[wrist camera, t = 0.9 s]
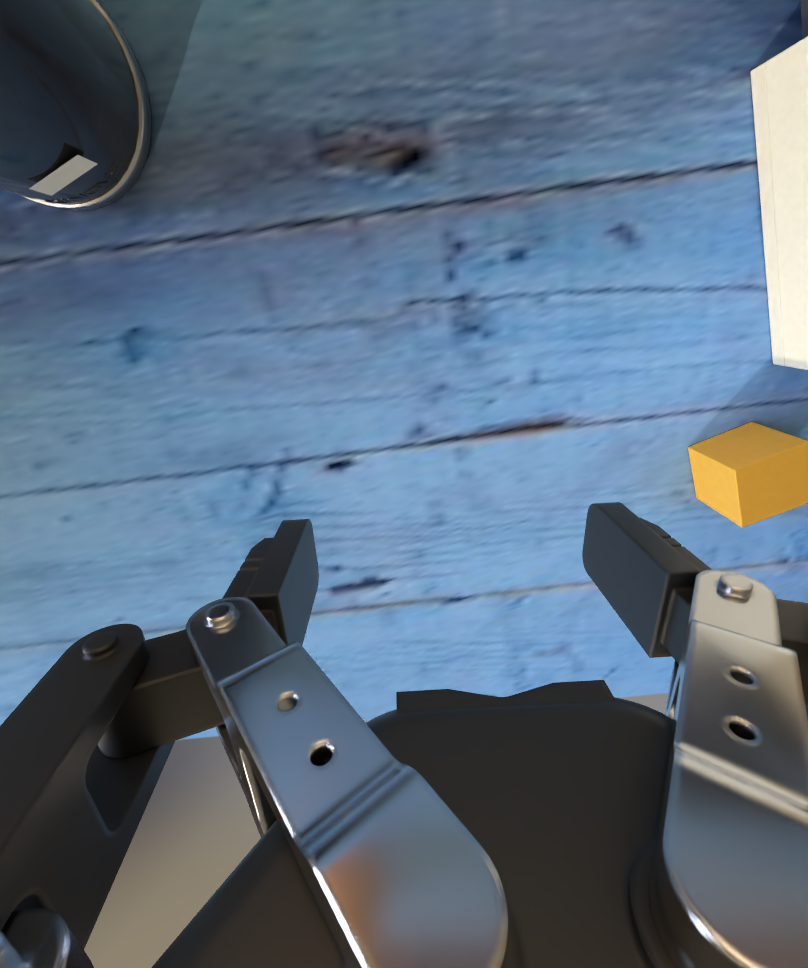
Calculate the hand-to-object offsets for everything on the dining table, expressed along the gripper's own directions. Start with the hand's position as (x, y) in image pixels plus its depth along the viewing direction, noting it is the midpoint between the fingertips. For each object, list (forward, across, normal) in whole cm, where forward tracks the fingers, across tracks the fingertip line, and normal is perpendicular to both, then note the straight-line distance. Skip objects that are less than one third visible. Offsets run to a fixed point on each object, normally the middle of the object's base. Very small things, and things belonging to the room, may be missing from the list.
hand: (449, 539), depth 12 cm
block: (+17, -22, +5) cm, 28 cm away
